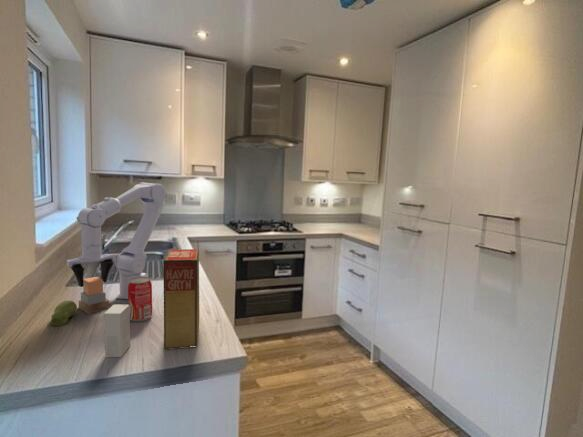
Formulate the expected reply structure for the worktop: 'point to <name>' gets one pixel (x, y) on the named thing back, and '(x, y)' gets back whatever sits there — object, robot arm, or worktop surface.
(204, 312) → the worktop surface
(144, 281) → the soda can
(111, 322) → the skincare box
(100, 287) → the terracotta cube
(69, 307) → the pear
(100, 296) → the slate block
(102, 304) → the walnut base
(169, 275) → the food packaging
